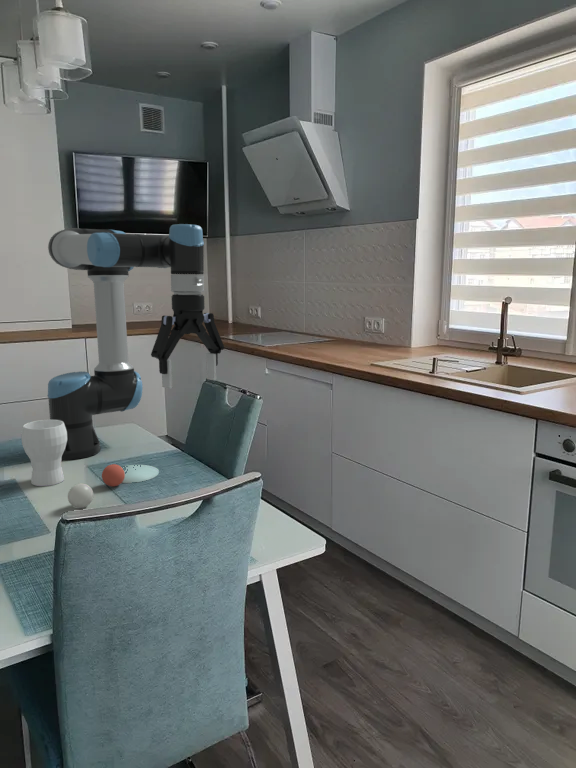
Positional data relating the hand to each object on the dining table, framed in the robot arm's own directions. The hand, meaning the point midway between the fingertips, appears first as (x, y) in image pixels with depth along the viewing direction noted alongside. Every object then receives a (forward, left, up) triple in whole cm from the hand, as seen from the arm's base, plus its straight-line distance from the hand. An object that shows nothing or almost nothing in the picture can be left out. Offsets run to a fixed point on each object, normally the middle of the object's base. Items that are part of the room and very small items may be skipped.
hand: (190, 383), depth 139 cm
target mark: (-20, -6, -27) cm, 34 cm away
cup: (-30, -24, -27) cm, 47 cm away
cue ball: (-8, -25, -24) cm, 35 cm away
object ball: (-15, -13, -24) cm, 31 cm away
